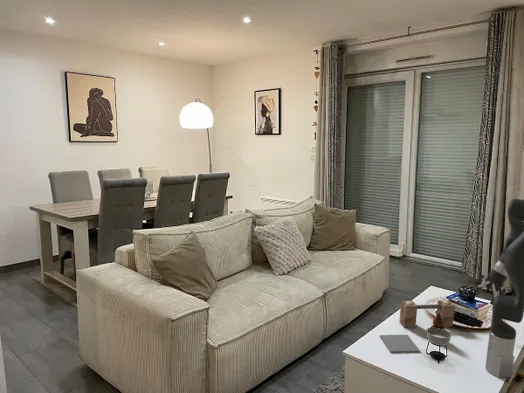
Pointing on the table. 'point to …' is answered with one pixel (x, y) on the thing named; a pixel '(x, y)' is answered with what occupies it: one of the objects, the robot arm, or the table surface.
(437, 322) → the wooden figurine
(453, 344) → the table surface
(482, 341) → the table surface
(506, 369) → the robot arm
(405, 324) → the handrail
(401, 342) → the slate mat
